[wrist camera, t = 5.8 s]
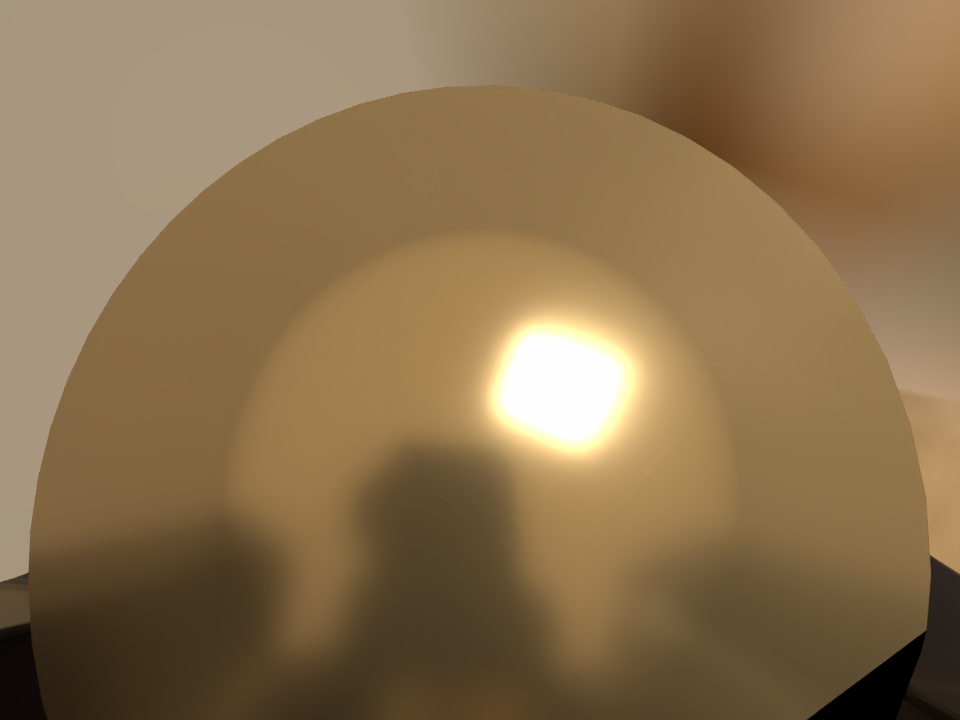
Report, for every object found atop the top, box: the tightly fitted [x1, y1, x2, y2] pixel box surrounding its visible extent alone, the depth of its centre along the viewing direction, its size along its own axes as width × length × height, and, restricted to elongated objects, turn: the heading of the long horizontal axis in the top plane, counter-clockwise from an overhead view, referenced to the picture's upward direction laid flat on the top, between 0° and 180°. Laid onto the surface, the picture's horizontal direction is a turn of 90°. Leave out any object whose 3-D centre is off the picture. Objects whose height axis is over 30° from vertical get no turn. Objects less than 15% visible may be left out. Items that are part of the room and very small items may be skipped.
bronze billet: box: [28, 85, 931, 720], centre depth 9 cm, size 5×5×13 cm
